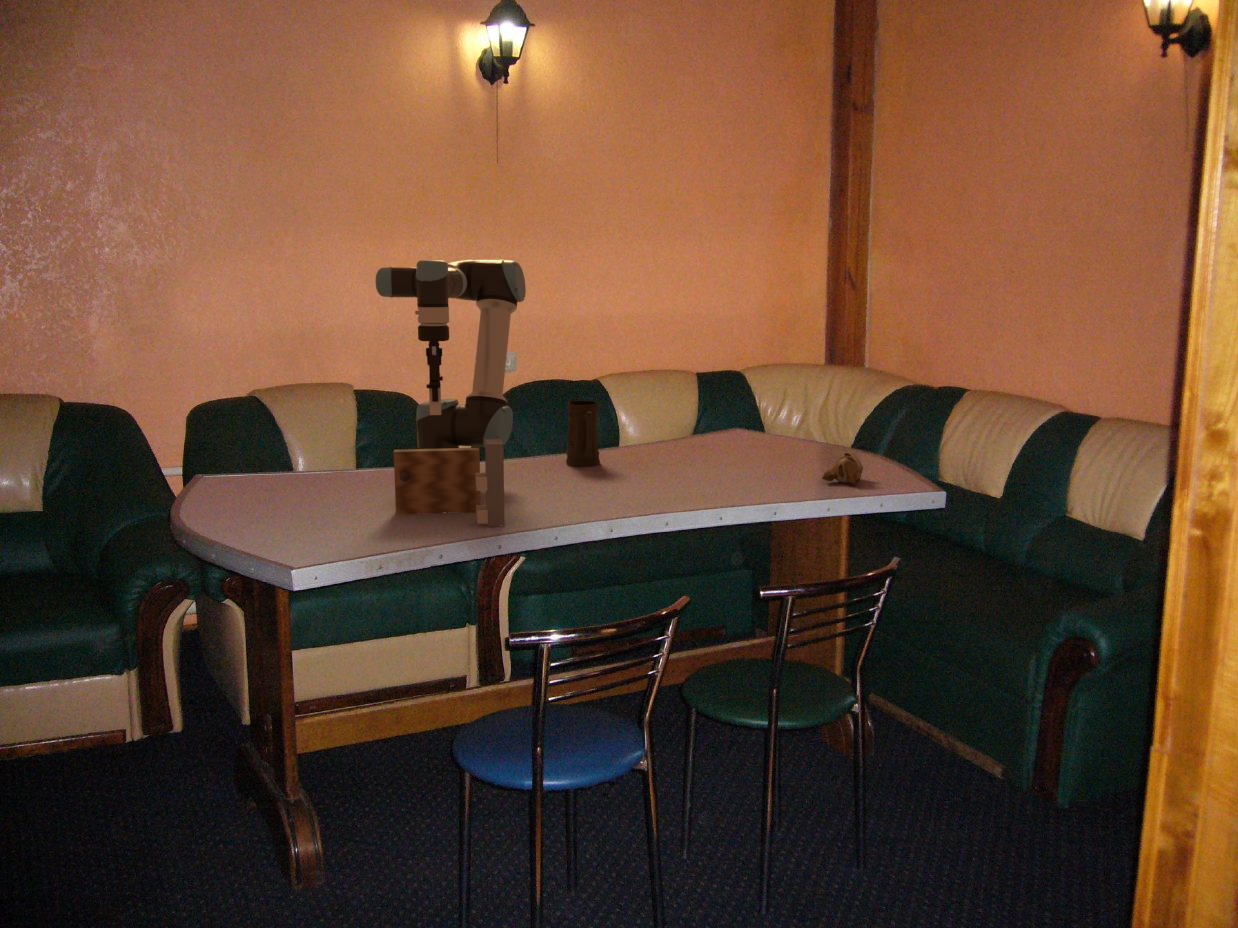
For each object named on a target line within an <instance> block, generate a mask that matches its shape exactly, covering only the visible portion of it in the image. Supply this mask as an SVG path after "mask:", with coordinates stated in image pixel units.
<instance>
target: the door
mask: <svg viewBox="0 0 1238 928" xmlns="http://www.w3.org/2000/svg"><path fill="white" fill-rule="evenodd" d="M480 451H481V450H480V447H459V448H447V449H418V448H416V449H415V448H413V449H411V448H410V449H407V448H406V449H393V469H394V470H393V471H394V472H393V473H394V475H393V476H394V497H395V499H394V500H395V515H396V514H403V515H424V514H423V513H434V514H444V513H443V512H447V513H446V514H449V513H448V512H464V513H476V505H482V504H481V503H482V502H481V491H477V490H476V475H475V473H481V462H480V461H481V460H480V458H481V457H480V455H481V454H480ZM418 513H419V514H418Z"/></svg>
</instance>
